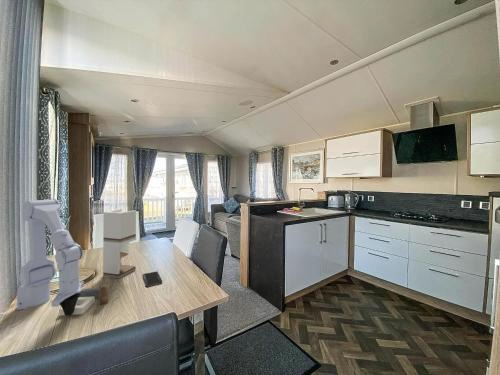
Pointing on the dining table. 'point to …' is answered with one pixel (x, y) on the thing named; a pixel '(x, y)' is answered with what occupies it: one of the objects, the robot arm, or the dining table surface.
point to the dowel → (103, 294)
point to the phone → (152, 279)
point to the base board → (90, 293)
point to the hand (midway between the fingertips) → (69, 314)
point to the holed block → (80, 305)
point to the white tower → (117, 241)
